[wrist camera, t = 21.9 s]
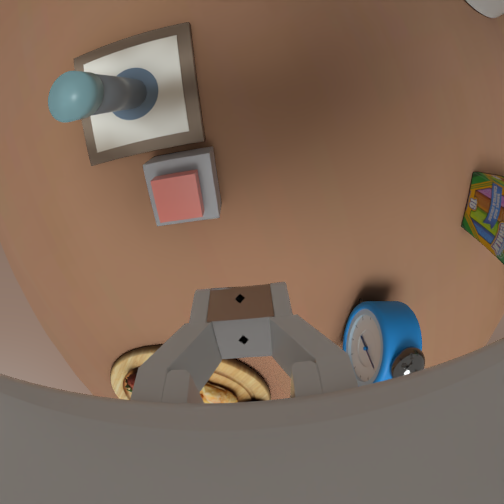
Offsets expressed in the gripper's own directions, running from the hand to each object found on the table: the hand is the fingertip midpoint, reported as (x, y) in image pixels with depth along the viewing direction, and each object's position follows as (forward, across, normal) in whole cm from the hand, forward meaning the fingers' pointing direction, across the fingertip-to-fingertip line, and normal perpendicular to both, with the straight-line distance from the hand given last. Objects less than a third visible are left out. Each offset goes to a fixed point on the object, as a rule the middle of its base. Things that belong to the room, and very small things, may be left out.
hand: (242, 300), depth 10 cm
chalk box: (+22, -36, +7) cm, 43 cm away
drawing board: (+22, +10, -9) cm, 26 cm away
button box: (+22, +6, +2) cm, 23 cm away
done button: (+19, +6, +2) cm, 20 cm away
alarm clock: (+22, -16, +25) cm, 37 cm away
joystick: (+21, +10, -9) cm, 25 cm away
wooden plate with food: (+21, +15, +42) cm, 50 cm away
